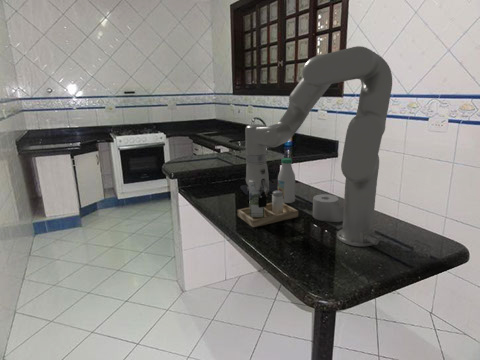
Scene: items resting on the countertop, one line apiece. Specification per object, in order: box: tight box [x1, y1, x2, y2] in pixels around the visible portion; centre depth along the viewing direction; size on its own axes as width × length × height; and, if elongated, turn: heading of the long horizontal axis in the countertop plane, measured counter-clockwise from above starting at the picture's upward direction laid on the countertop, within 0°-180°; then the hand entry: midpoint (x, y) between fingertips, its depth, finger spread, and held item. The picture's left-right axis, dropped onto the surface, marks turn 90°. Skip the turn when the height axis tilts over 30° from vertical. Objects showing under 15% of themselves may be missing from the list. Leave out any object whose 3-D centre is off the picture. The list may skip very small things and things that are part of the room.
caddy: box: [236, 202, 299, 228], centre depth 128 cm, size 13×20×4 cm, turn 116°
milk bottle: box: [277, 157, 296, 204], centre depth 144 cm, size 8×8×20 cm
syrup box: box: [248, 180, 265, 218], centre depth 124 cm, size 6×6×14 cm
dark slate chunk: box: [239, 178, 278, 197], centre depth 164 cm, size 15×22×5 cm
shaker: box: [271, 191, 283, 214], centre depth 129 cm, size 4×4×9 cm
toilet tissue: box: [312, 193, 344, 223], centre depth 125 cm, size 9×13×9 cm
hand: (257, 203), depth 125 cm, fingers closed on syrup box, 7 cm apart
